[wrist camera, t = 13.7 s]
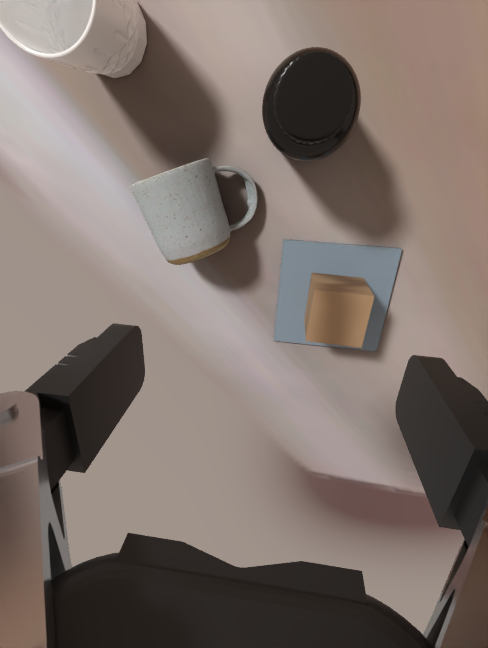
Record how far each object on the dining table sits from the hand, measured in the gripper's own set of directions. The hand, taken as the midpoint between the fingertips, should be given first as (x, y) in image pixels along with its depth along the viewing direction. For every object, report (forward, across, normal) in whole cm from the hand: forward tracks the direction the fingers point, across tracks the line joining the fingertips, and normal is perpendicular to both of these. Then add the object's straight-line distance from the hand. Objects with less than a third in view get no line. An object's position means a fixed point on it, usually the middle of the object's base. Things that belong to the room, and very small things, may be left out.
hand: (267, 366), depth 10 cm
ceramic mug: (+28, +8, -1) cm, 30 cm away
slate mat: (+28, -6, +8) cm, 30 cm away
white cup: (+28, +17, -15) cm, 36 cm away
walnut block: (+28, -6, +8) cm, 29 cm away
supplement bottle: (+28, -1, -9) cm, 30 cm away
